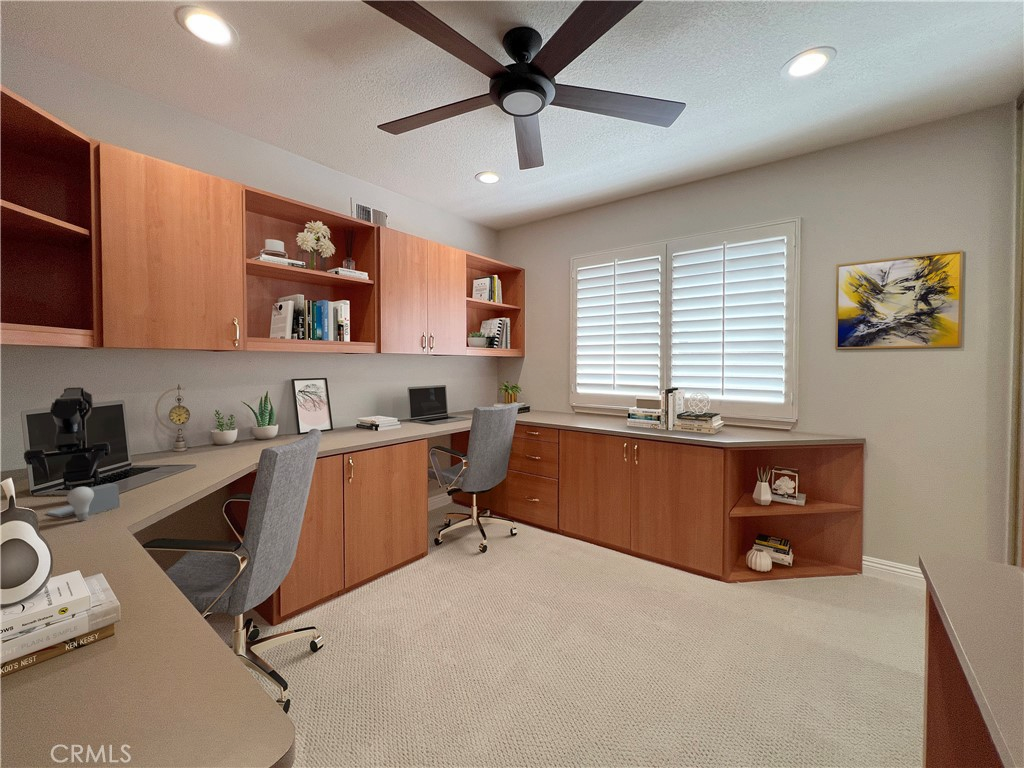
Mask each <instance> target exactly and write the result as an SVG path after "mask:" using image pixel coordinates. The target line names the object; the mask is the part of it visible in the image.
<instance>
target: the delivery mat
mask: <svg viewBox="0 0 1024 768" xmlns="http://www.w3.org/2000/svg"><path fill="white" fill-rule="evenodd" d="M45 514H46V515H49V516H52V517H53V516H54V517H59V518H65V517H67V516H71V515H74V508H73V507H72V506H71V505H69V506H65V507H61V508H56V509H53V510H52V509H51V510H49V511H46V512H45Z"/></svg>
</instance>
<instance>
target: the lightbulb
mask: <svg viewBox="0 0 1024 768" xmlns="http://www.w3.org/2000/svg"><path fill="white" fill-rule="evenodd" d="M93 497H94V492H93V490H92V489H90V488H88V487H77V488H75V489H73V490H71V489H70V491H69V493H68V494H67V495H66V502H67V501H68V502H67V503H68V504H69V506H72V507H73V508H74V511H75V514H76V515H75V517H76V520H77V521H81V522H83V521H85V520H86V519H88V517H89V515H88V511H89V505H90V503H91V501H92V499H93Z"/></svg>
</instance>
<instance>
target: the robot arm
mask: <svg viewBox="0 0 1024 768" xmlns="http://www.w3.org/2000/svg"><path fill="white" fill-rule="evenodd" d="M93 408H94V400H93V395H92V393H90V392H87V391H85V389H84V387H66V388H64V389H63V393H62V394H60V396H59V397H56V399H54V402H51V407H50V410H49V411H50V414H51V415H52V417H53V420H54V423H55V424H56V434H55V435H54V449H55V450H53V451H45V449H44V448H43V447H42V448H30V449H26V451H24V452H23V459H24V462H25V463H26V465H32V466H33V467H38V468H39V469H40V470H41V472H42V473H43V475H44V477H45V479H46V481H47V482H50V472H49V471H50V470H49V466H48V462H47V459H52V458H59V457H61V458H62V457H68V456H69V457H70V458H69V460H68V461H66V463H65V465H64V466H65V468H64V469H65V470H63V471H62V479H63V481H62V482H63V486H64V488H69V487H70V491H71V490H73V489H75V488H77V487H88V488H91V487H94V485H93V484H97V483H98V482H100V472H99V470H98V469H97V468H96V467H97V465H98V463H99V462H100V461H101V460H102V459H105V458H106V457H108V456H111V446H110V443H109V442H108V441H101V442H93V443H92V445H91V446H90V447H88V443H87V442H88V441H87V439H88V437H87V435H88V434H87V419H88V418H89V417H90V415H91V414H92V409H93ZM88 454H90V458H89V457H88ZM66 503H69V502H68V501H67V500H66Z"/></svg>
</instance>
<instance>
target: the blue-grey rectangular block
mask: <svg viewBox="0 0 1024 768" xmlns="http://www.w3.org/2000/svg"><path fill="white" fill-rule="evenodd" d="M90 489H92V490H93V492H94V497H93V499H92V501H91V503H90V505H89V511H88V516H92V515H95V514H98V513H102V512H105V511H110V510H114V509H117V508H119V507H121V506H120V492H119V491H120V490H119V484H117V483H111V482H110V483H104V484H100V485H95V486H93V487H91V488H90ZM73 515H74V516H76V514H75V511H74V514H73Z"/></svg>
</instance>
